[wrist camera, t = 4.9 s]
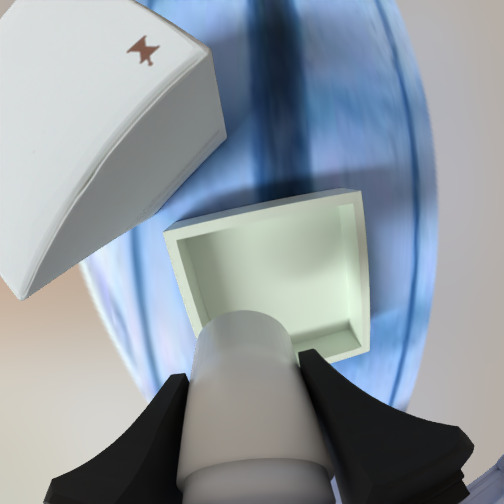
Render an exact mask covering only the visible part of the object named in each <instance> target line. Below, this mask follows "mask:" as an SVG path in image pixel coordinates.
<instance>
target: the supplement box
mask: <svg viewBox="0 0 504 504" xmlns="http://www.w3.org/2000/svg"><path fill="white" fill-rule="evenodd" d="M225 139H227V133H226V128H225V123H224V117H223V112H222V107H221V102H220V96H219V91H218V84H217V80H216V74H215V68H214V63H213V57H212V52H211V49H210V48H209V47H207V46H206V45H205V44H203V43H202V42H200V41H199V40H197V39H196V38H194V37H193V36H191V35H190V34H188V33H187V32H186V31H184V30H183V29H181V28H180V27H178V26H176V25H175V24H173V23H172V22H170V21H169V20H167V19H166V18H164V17H162V16H161V15H159V14H157V13H156V12H154V11H152V10H151V9H149V8H147V7H146V6H144V5H142V4H140V3H138V2H137V1H135V0H16V1H15V2H14V3H13V5H12V6H11V7H10V8H9V10H7V12H6V13H5V14H4V15H3V17H2V18H1V19H0V276H1V277H2V278H3V280H4V281H5V282H6V284H7V285H8V286H9V288H10V289H11V290H12V291H13V293H14V294H15V295H16V297H17V298H18V299H19V300H21V301H23V300H25V299H26V298H28V297H29V296H31V295H32V294H33V293H35V292H36V291H38V290H39V289H41V288H42V287H44V286H45V285H47V284H48V283H50V282H51V281H52V280H54V279H55V278H57V277H58V276H60V275H61V274H62V273H64V272H66V271H67V270H68V269H70V268H71V267H73V266H74V265H76V264H77V263H79V262H80V261H82V260H83V259H85V258H86V257H88V256H89V255H91V254H92V253H94V252H95V251H97V250H98V249H100V248H101V247H103V246H105V245H106V244H108V243H109V242H111V241H112V240H114V239H116V238H117V237H119V236H121V235H122V234H124V233H125V232H127V231H129V230H130V229H132V228H134V227H135V226H137V225H139V224H141V223H143V222H144V221H146V220H148V219H150V218H151V217H152V216H153V215H154V214H155V213H156V212H157V211H158V210H159V209H160V208H161V207H162V206H163V205H164V203H165V202H166V201H167V200H168V199H169V198H170V197H171V196H172V195H173V194H174V192H175V191H176V190H177V189H178V188H179V187H180V186H181V185H182V184H183V183H184V182H185V181H186V179H187V178H188V177H189V176H190V175H191V174H192V173H193V172H194V171H195V170H196V169H197V168H198V167H199V166H200V165H201V164H202V163H203V161H204V160H205V159H206V158H207V157H208V156H209V155H210V154H211V153H212V152H213V151H214V150H215V149H216V148H217V147H218V146H219V145H220V144H221V143H222V142H223V141H224V140H225Z"/></svg>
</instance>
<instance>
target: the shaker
mask: <svg viewBox="0 0 504 504" xmlns="http://www.w3.org/2000/svg"><path fill="white" fill-rule="evenodd" d="M334 474H335V470H334V467H333V464H332V461H331V458H330V454H329V451H328V448H327V445H326V442H325V439H324V437H323V434H322V431H321V428H320V425H319V422H318V419H317V416H316V413H315V410H314V407H313V404H312V401H311V398H310V395H309V392H308V389H307V386H306V383H305V380H304V377H303V374H302V371H301V369H300V366H299V363H298V360H297V357H296V354H295V351H294V348H293V345H292V342H291V339H290V336H289V334H288V332H287V330H286V329H285V327H284V326H283V325H282V324H281V323H280V322H279V321H277V320H276V319H275V318H273V317H271V316H269V315H267V314H264V313H261V312H257V311H251V310H239V311H232V312H228V313H225V314H222V315H220V316H218V317H216V318H214V319H213V320H211V321H210V322H209V323H207V324H206V325H205V327H204V328H203V329H202V330H201V332H200V333H199V335H198V338H197V341H196V346H195V352H194V358H193V364H192V370H191V376H190V383H189V389H188V396H187V402H186V409H185V416H184V423H183V431H182V438H181V446H180V454H179V462H178V471H177V480H176V484H177V487H178V489H179V490H180V491H181V492H182V493H183V499H182V504H336V498H335V495H334V492H333V489H332V485H331V480H332V479H333V477H334Z"/></svg>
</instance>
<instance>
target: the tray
mask: <svg viewBox="0 0 504 504" xmlns="http://www.w3.org/2000/svg"><path fill="white" fill-rule="evenodd" d="M163 235H164V239H165V242H166V246H167V249H168V253H169V256H170V260H171V263H172V267H173V270H174V273H175V277H176V280H177V283H178V286H179V289H180V292H181V296H182V299H183V302H184V305H185V308H186V311H187V314H188V317H189V320H190V322H191V325H192V328H193V331H194V334H195V337H196V339H197V338H198V335H199V333H200V332H201V330H202V329H203V328H204V327H205V325H206V324H207V323H209V322H210V321H211V320H213V319H214V318H216V317H218V316H220V315H222V314H225V313H228V312H232V311H239V310H251V311H257V312H261V313H264V314H267V315H269V316H271V317H273V318H275V319H276V320H277V321H279V322H280V323H281V324H282V325H283V326H284V327H285V329H286V330H287V332H288V334H289V336H290V339H291V342H292V345H293V348H294V351H295V354H296V357H297V360H298V363H299V357H298V352H301V351H305V350H309V349H315V350H317V352H318V353H319V354H320V355H321V356H322V357H323V358H324V359H325V360H326V361H327V362H328V363H329V364H330V363H333V362H336V361H340V360H343V359H346V358H350V357H353V356H356V355H359V354H362V353H365V352H368V351H369V350H370V288H369V266H368V251H367V239H366V228H365V218H364V209H363V201H362V194H361V191H359V190H353V189H347V188H336V189H331V190H325V191H319V192H314V193H308V194H303V195H298V196H292V197H287V198H282V199H277V200H272V201H267V202H262V203H257V204H253V205H248V206H243V207H239V208H234V209H229V210H225V211H220V212H216V213H212V214H207V215H203V216H199V217H195V218H190V219H186V220H182V221H178V222H174V223H173V224H172V225H170V226H169V227H168V228H167V229H166V230H165V231H163ZM299 366H300V364H299Z"/></svg>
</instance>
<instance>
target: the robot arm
mask: <svg viewBox="0 0 504 504" xmlns="http://www.w3.org/2000/svg"><path fill="white" fill-rule="evenodd" d="M298 357H299V364H300V369H301V371H302V374H303V377H304V380H305V383H306V386H307V389H308V392H309V395H310V398H311V401H312V404H313V407H314V410H315V413H316V416H317V419H318V422H319V425H320V428H321V431H322V434H323V437H324V439H325V442H326V445H327V448H328V451H329V454H330V458H331V461H332V464H333V467H334V470H335V474H334V477H333V479H332V480H331V485H332V489H333V492H334V495H335V498H336V504H504V454H503V455H502V457H501V458H500V459H499V460H498V461H497V463H496V464H495V465H494V466H493V467H492V468H490V469H489V470H488V471H487V472H485V473H484V474H483V475H481V476H480V477H479V478H477V479H476V480H475V481H473V482H472V483H471V484H469V485H468V486H465V484H464V482H463V481H462V479H463V478H464V474H463V472H462V471H461V468H462V466H463V465H464V464H465V463H466V461H467V460H468V459H469V457H470V456H471V454H472V453H473V450H474V444H473V443H472V442H471V440H470V439H469V437H468V436H467V435H466V434H465V433H464V432H463V431H462V430H461V429H460V428H459V427H458V426H451V425H446V424H441V423H436V422H432V421H428V420H425V419H421V418H418V417H415V416H412V415H410V414H407V413H405V412H402V411H400V410H397V409H395V408H393V407H391V406H389V405H387V404H385V403H383V402H381V401H379V400H377V399H376V398H374V397H372V396H370V395H369V394H367V393H366V392H364V391H363V390H361V389H360V388H358V387H357V386H356V385H354V384H353V383H351V382H350V381H349V380H348V379H346V378H345V377H344V376H343V375H341V374H340V373H339V372H338V371H337V370H336V369H334V368H333V367H332V366H331V365H330V364H329V363H328V362H327V361H326V360H325V359H324V358H323V357H322V356H321V355H320V354H319V353H318V352H317V350H315V349H309V350H305V351H301V352H298ZM188 389H189V381H188V378H187V376H186V374H185V373H181V374H173V375H170V377H169V378H168V379H167V381H166V382H165V383H164V385H163V386H162V387H161V389H160V390H159V392H158V393H157V394H156V396H155V397H154V398H153V400H152V401H151V402H150V404H149V405H148V406H147V408H146V409H145V410H144V411H143V412H142V413H141V415H140V416H139V417H138V418H137V419H136V421H135V422H134V423H133V424H132V425H131V426H130V427H129V428H128V429H127V430H126V431H125V433H123V434H122V435H121V436H120V437H119V438H118V439H117V440H116V441H115V442H114V443H112V444H111V445H110V446H109V447H108V448H106V449H105V450H103V451H102V452H101V453H99V454H98V455H97V456H95V457H94V458H93V459H91V460H90V461H88V462H86V463H85V464H83V465H81V466H79V467H78V468H76V469H74V470H72V471H70V472H68V473H65V474H63V475H61V476H59V477H56V478H53V479H52V481H51V484H50V486H49V489H48V491H47V494H46V496H45V499H44V501H43V503H44V504H182V499H183V493H182V492H181V491H180V490H179V489H178V487H177V484H176V480H177V471H178V462H179V454H180V446H181V438H182V431H183V423H184V416H185V409H186V402H187V396H188Z"/></svg>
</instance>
